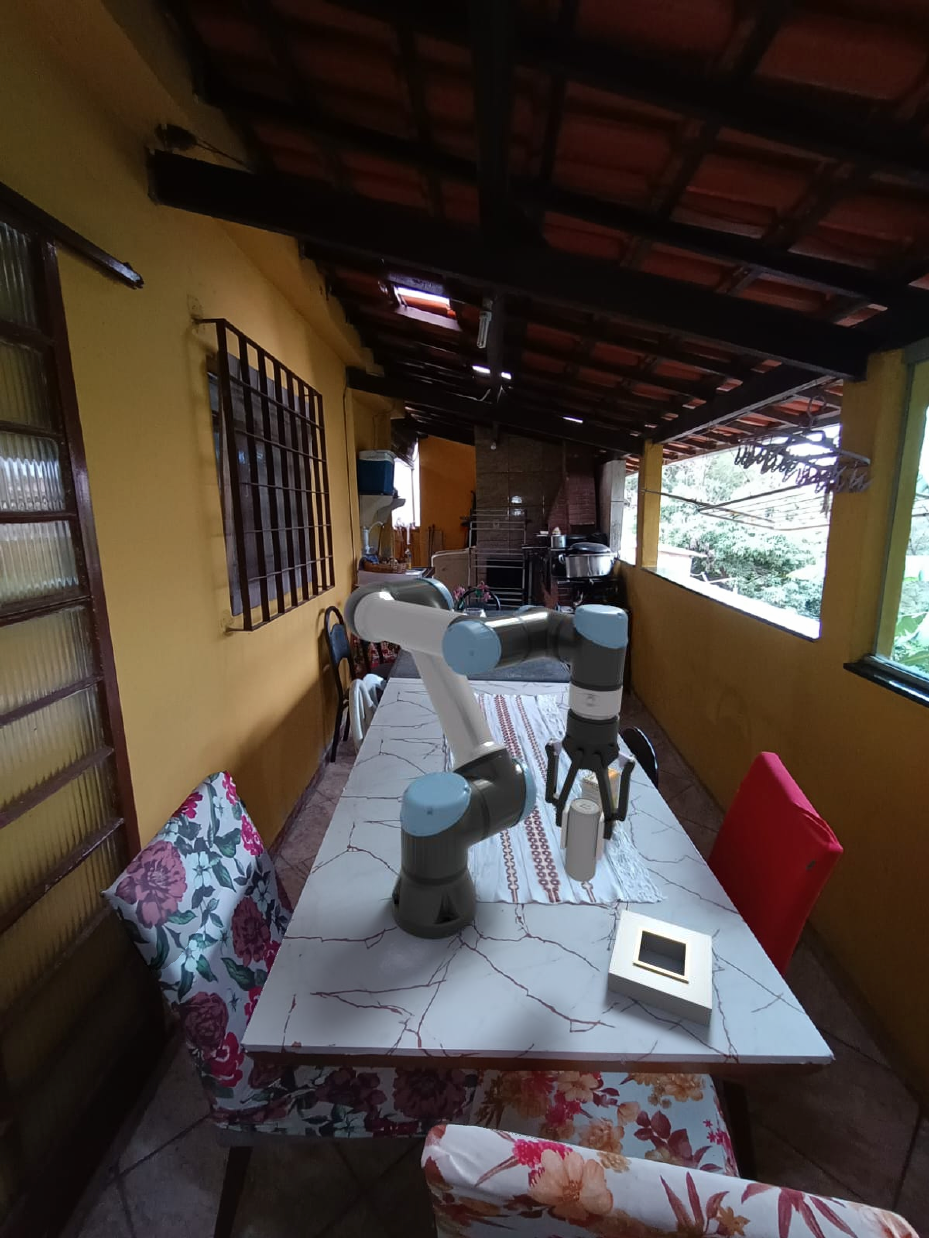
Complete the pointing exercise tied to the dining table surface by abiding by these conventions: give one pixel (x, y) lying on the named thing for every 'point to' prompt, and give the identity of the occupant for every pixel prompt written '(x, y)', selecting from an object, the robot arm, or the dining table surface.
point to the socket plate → (659, 985)
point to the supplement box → (592, 788)
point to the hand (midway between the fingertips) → (581, 849)
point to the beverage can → (582, 839)
